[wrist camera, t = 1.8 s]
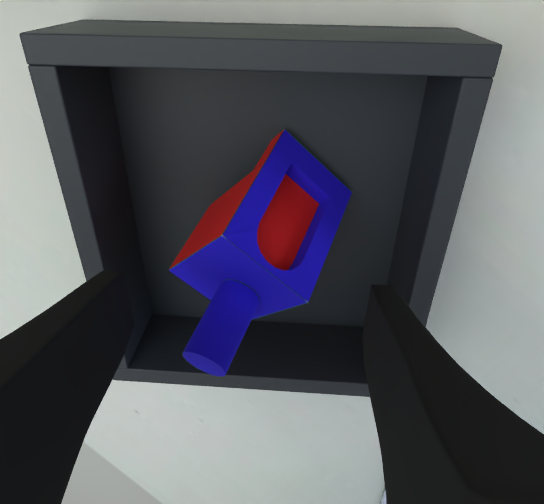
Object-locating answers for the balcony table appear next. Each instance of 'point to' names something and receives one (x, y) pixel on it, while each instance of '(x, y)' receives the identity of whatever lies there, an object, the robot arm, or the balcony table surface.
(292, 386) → the tote
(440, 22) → the balcony table surface
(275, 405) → the balcony table surface
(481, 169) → the balcony table surface
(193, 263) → the toy building block
